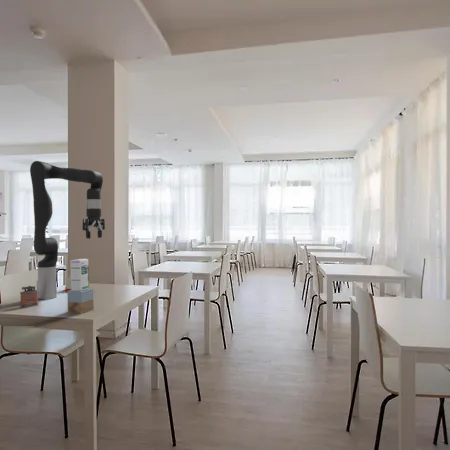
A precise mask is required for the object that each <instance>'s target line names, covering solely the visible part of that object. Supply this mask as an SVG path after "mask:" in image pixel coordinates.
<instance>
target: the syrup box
mask: <svg viewBox="0 0 450 450" xmlns="http://www.w3.org/2000/svg"><path fill="white" fill-rule="evenodd" d="M69 262H70V275H71V289H72V291H83V290H87V289H90V273H89V272H90V271H89V268H90V267H89V258H77V259H72V260H70V261H69Z"/></svg>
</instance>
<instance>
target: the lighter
mask: <svg viewBox="0 0 450 450" xmlns="http://www.w3.org/2000/svg"><path fill="white" fill-rule="evenodd" d="M21 290H22V291H20V292H19V294H20V304H19V305H20V308H28V307H29V306H30V307H34V306H35V307H36V306H39V302H38V301H39V298H38V290H37V289H36V285H32V286H31V285H28V286H22V287H21ZM30 307H29V308H30Z"/></svg>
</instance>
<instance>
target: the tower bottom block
mask: <svg viewBox="0 0 450 450" xmlns="http://www.w3.org/2000/svg"><path fill="white" fill-rule="evenodd" d="M94 305H95V304H94V299H93V300H89V301H86V302H83V303H77V302H68V301H67V312H68V313H73V314H83V313H84V314H85V313H88V312H91V311H94Z"/></svg>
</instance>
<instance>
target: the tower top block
mask: <svg viewBox="0 0 450 450" xmlns="http://www.w3.org/2000/svg"><path fill="white" fill-rule="evenodd" d="M89 300H93V301H94V288H89V289H87V290H83V291H72V290H70V291H67V303H68V302H77V303H83V302H86V301H89Z"/></svg>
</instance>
